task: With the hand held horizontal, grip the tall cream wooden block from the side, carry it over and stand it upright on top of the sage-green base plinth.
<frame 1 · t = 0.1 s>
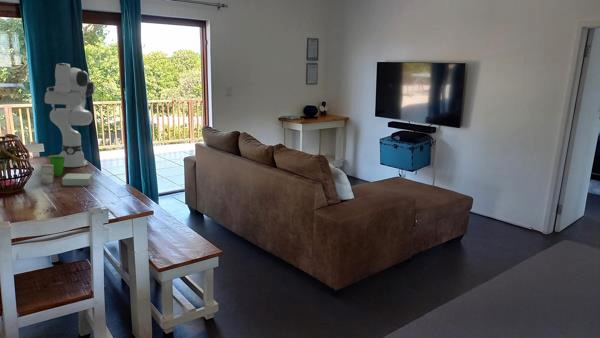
hand: (63, 112, 271), 39 cm above the table, tool pointing down, fingers open, 8 cm apart
base plinth: (77, 182, 258), on the table
cup: (57, 175, 272), on the table
cream block: (47, 182, 254), on the table
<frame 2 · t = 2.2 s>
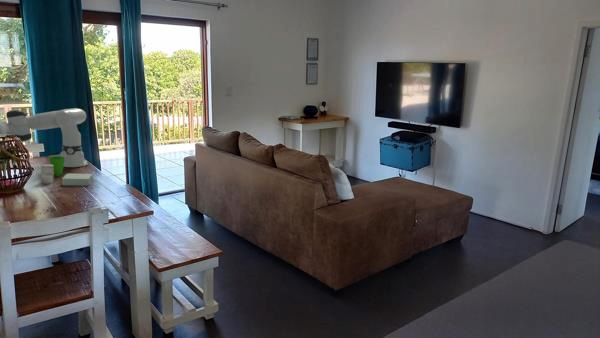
hand: (16, 140, 247), 24 cm above the table, tool horizontal, fingers open, 8 cm apart
nothing on the table moved.
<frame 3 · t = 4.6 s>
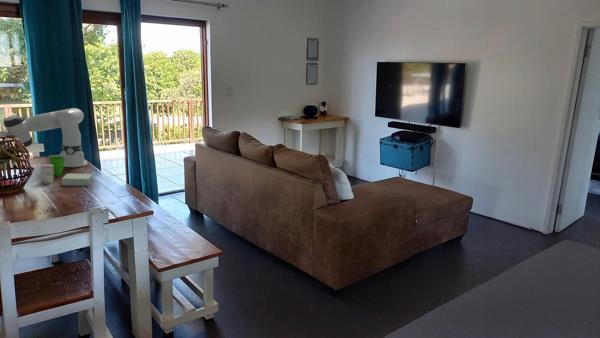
hand: (28, 172, 250), 5 cm above the table, tool horizontal, fingers open, 8 cm apart
nothing on the table moved.
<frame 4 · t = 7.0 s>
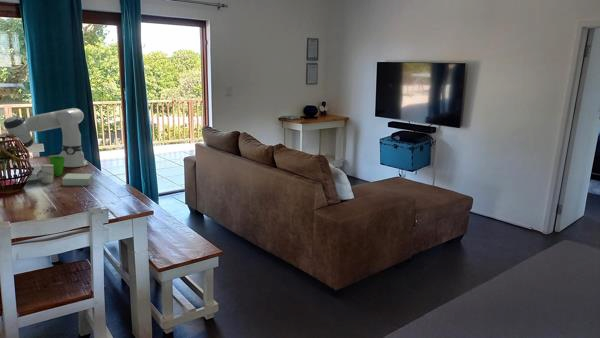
hand: (49, 172, 253), 6 cm above the table, tool horizontal, fingers closed on cream block, 5 cm apart
cream block: (47, 182, 254), on the table, touching gripper
everything else where it was.
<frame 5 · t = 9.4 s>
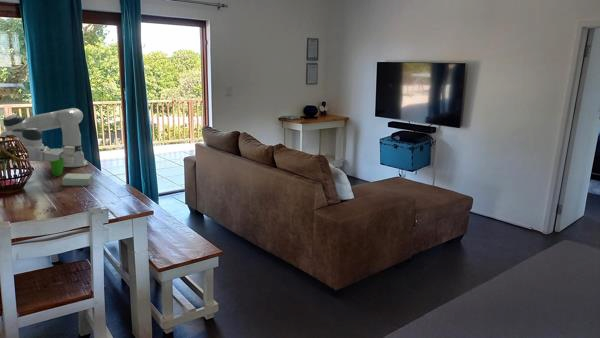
hand: (70, 154, 253), 17 cm above the table, tool horizontal, fingers closed on cream block, 5 cm apart
cream block: (69, 164, 254), point 11 cm above the table, touching gripper
everything else where it was.
when the fingers open (10 cm above the table, at t = 11.7 s): cream block stays where it is, resting on base plinth.
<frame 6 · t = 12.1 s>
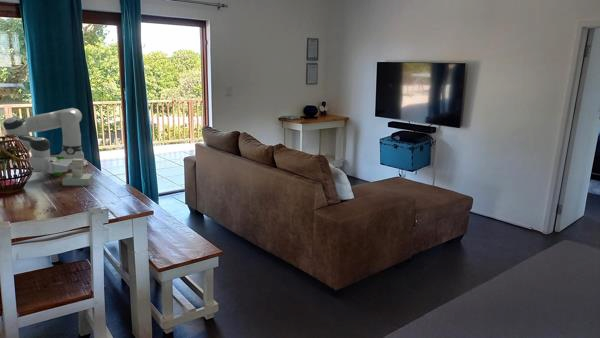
hand: (79, 165, 256), 10 cm above the table, tool horizontal, fingers open, 8 cm apart
cream block: (77, 176, 258), point 4 cm above the table, touching base plinth
everything else where it was.
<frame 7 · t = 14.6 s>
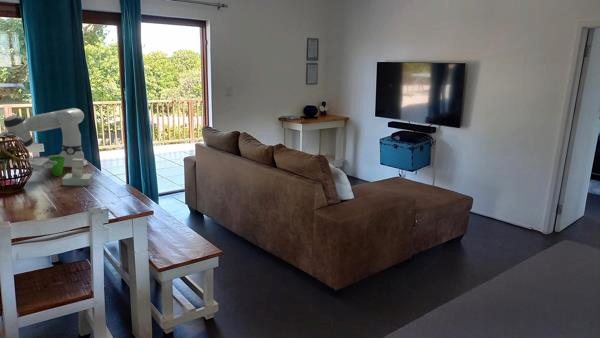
hand: (54, 164, 253), 11 cm above the table, tool horizontal, fingers open, 8 cm apart
nothing on the table moved.
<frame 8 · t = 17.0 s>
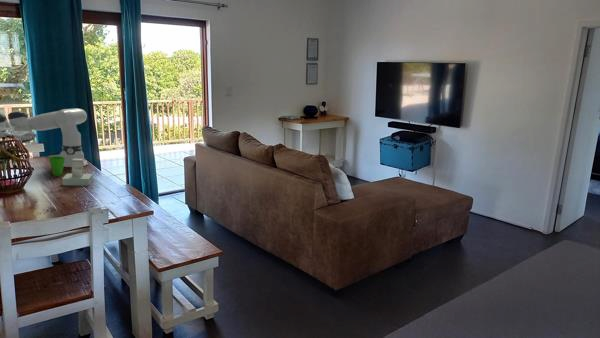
hand: (34, 136, 251), 26 cm above the table, tool horizontal, fingers open, 8 cm apart
nothing on the table moved.
at the end: cream block inside the target area on the base plinth (0.0 cm from its centre), point 4.0 cm above the base plinth's base; cream block tilted 0°; the gripper is holding nothing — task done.
